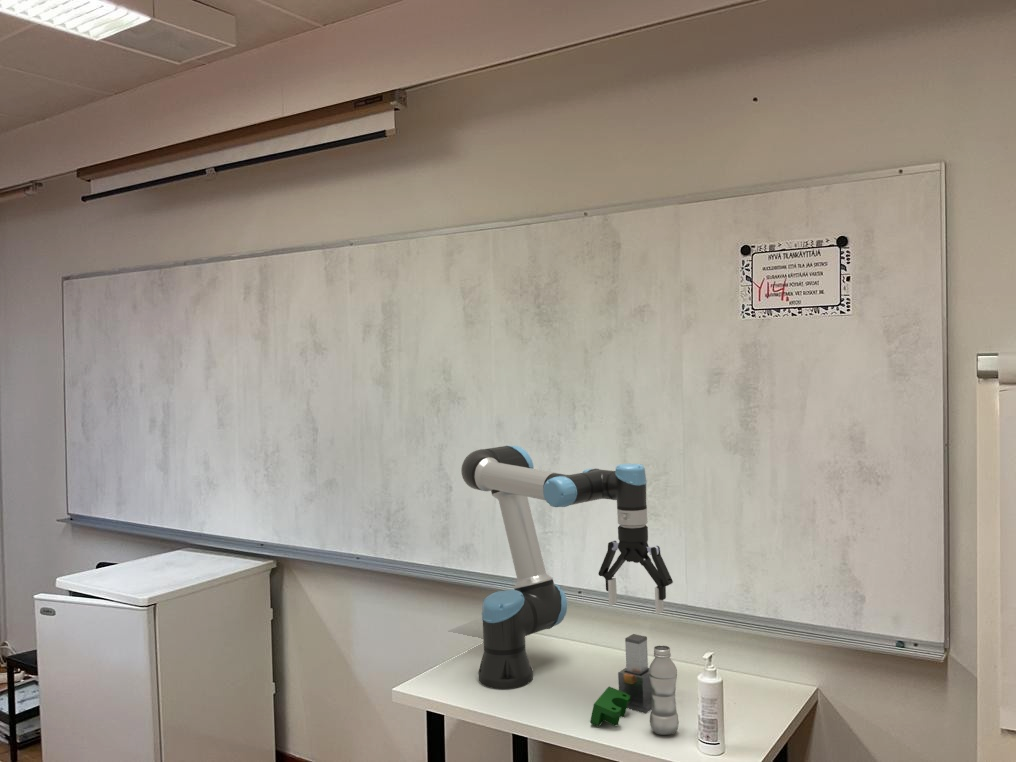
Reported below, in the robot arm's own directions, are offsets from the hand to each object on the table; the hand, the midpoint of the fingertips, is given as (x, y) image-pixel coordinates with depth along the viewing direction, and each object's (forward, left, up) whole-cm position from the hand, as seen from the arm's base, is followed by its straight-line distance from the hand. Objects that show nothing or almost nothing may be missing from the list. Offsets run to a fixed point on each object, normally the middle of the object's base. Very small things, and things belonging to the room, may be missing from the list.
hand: (635, 608), depth 210 cm
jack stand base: (0, 0, -24) cm, 24 cm away
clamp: (0, -13, -25) cm, 28 cm away
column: (0, 0, -22) cm, 22 cm away
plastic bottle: (+13, -12, -24) cm, 30 cm away
